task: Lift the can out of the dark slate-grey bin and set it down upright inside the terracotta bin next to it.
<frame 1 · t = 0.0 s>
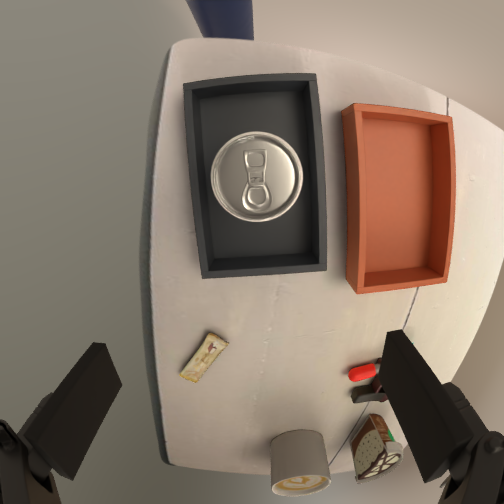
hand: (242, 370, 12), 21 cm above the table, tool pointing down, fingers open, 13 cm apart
food container: (372, 427, 41), on the table
can: (257, 173, 29), resting on grey bin
toy gun: (375, 366, 37), on the table
coffee mug: (295, 447, 43), on the table
terracotta bin: (395, 196, 29), on the table
snack bar: (203, 356, 36), on the table
grey bin: (257, 173, 29), on the table
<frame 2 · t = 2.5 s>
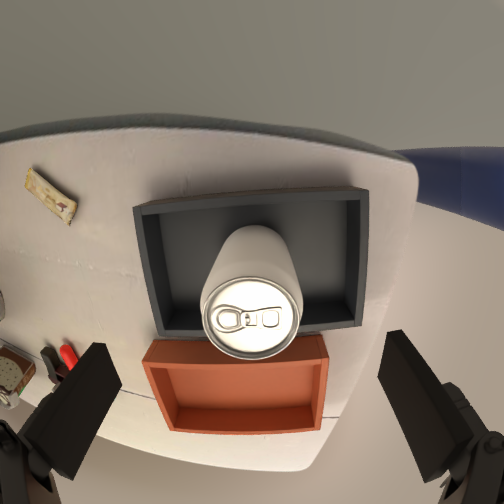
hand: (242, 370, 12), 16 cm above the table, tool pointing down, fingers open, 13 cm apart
food container: (23, 365, 35), on the table
can: (255, 256, 27), resting on grey bin
toy gun: (77, 366, 34), on the table
terracotta bin: (239, 380, 32), on the table
snack bar: (52, 194, 26), on the table
grey bin: (255, 255, 27), on the table
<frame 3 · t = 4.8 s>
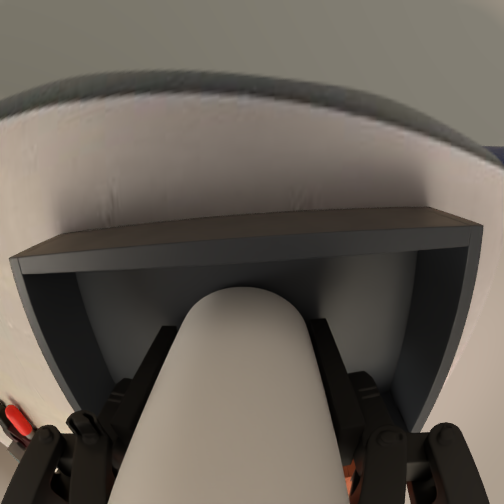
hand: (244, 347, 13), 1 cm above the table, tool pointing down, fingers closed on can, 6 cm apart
can: (244, 337, 14), resting on grey bin, touching gripper
toy gun: (31, 426, 20), on the table
grey bin: (244, 336, 14), on the table
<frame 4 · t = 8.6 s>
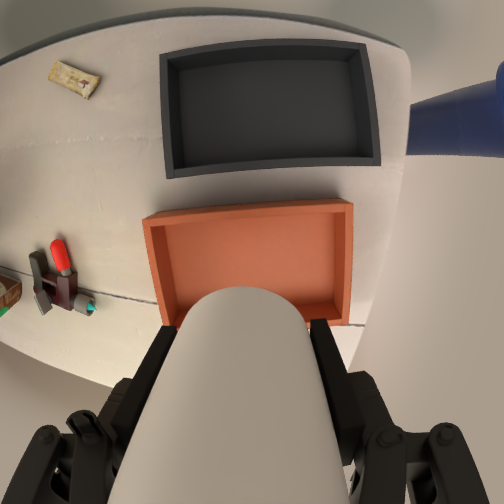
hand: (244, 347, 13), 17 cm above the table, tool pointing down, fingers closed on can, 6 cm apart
food container: (9, 291, 33), on the table
can: (244, 337, 14), point 17 cm above the table, touching gripper
toy gun: (67, 271, 32), on the table
terracotta bin: (251, 261, 30), on the table
snack bar: (75, 79, 24), on the table
grey bin: (268, 108, 26), on the table
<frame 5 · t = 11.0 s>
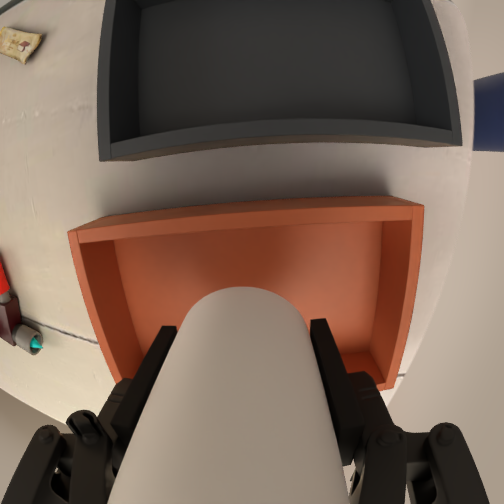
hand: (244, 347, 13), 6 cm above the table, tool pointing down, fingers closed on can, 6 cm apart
can: (244, 337, 14), point 5 cm above the table, touching gripper
toy gun: (9, 295, 20), on the table
terracotta bin: (249, 295, 19), on the table
snack bar: (19, 44, 13), on the table
grey bin: (277, 51, 14), on the table
when the fingers open (1 cm above the table, at t = 12.6 s): can stays where it is, resting on terracotta bin.
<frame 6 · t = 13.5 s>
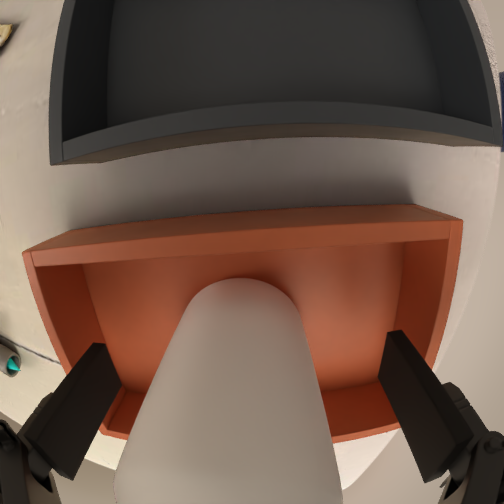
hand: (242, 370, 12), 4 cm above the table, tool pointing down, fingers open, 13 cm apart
can: (242, 327, 15), resting on terracotta bin
terracotta bin: (242, 326, 15), on the table
grey bin: (276, 25, 10), on the table
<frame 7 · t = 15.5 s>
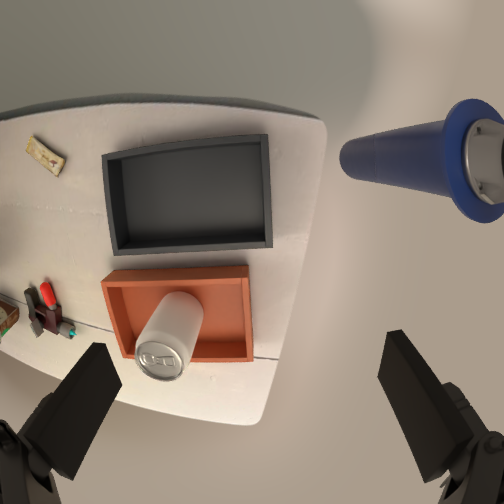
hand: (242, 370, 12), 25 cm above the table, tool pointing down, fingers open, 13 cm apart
food container: (8, 313, 41), on the table
can: (182, 309, 39), resting on terracotta bin
toy gun: (54, 305, 39), on the table
terracotta bin: (182, 309, 39), on the table
snack bar: (47, 155, 32), on the table
grey bin: (189, 193, 34), on the table
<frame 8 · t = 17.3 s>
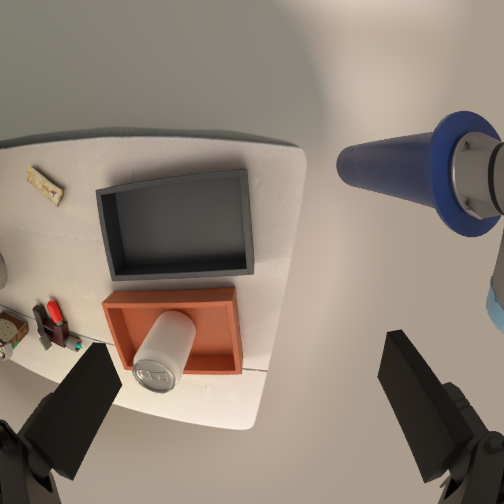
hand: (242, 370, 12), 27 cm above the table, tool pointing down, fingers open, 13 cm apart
food container: (18, 327, 45), on the table
can: (176, 326, 42), resting on terracotta bin
toy gun: (60, 320, 43), on the table
terracotta bin: (177, 326, 42), on the table
snack bar: (47, 184, 35), on the table
grey bin: (178, 223, 37), on the table
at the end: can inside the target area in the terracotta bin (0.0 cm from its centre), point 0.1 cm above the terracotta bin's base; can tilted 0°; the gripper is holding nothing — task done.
